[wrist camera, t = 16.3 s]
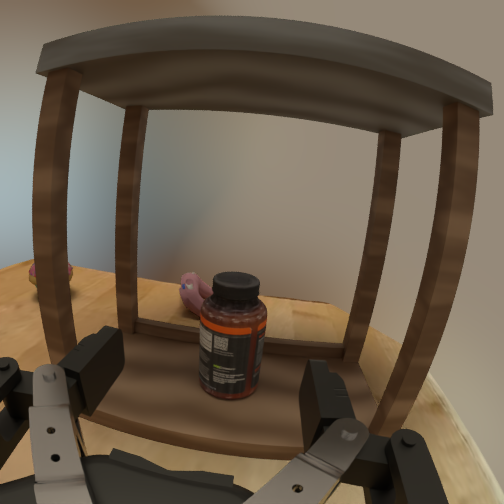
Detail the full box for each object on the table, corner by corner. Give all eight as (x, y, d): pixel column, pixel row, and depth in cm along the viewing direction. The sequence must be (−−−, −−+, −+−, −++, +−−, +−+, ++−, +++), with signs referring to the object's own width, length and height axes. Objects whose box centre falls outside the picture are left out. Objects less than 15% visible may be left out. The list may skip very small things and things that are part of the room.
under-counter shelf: (394, 459, 20) (491, 82, 13) (55, 410, 21) (43, 44, 14) (356, 364, 37) (401, 118, 29) (121, 334, 38) (131, 91, 30)
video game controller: (192, 304, 55) (176, 270, 53) (215, 295, 55) (200, 261, 53) (191, 329, 45) (171, 291, 43) (218, 319, 46) (199, 280, 44)
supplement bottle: (249, 365, 32) (262, 268, 29) (264, 400, 26) (283, 291, 24) (195, 367, 30) (199, 266, 28) (201, 404, 25) (206, 290, 22)
